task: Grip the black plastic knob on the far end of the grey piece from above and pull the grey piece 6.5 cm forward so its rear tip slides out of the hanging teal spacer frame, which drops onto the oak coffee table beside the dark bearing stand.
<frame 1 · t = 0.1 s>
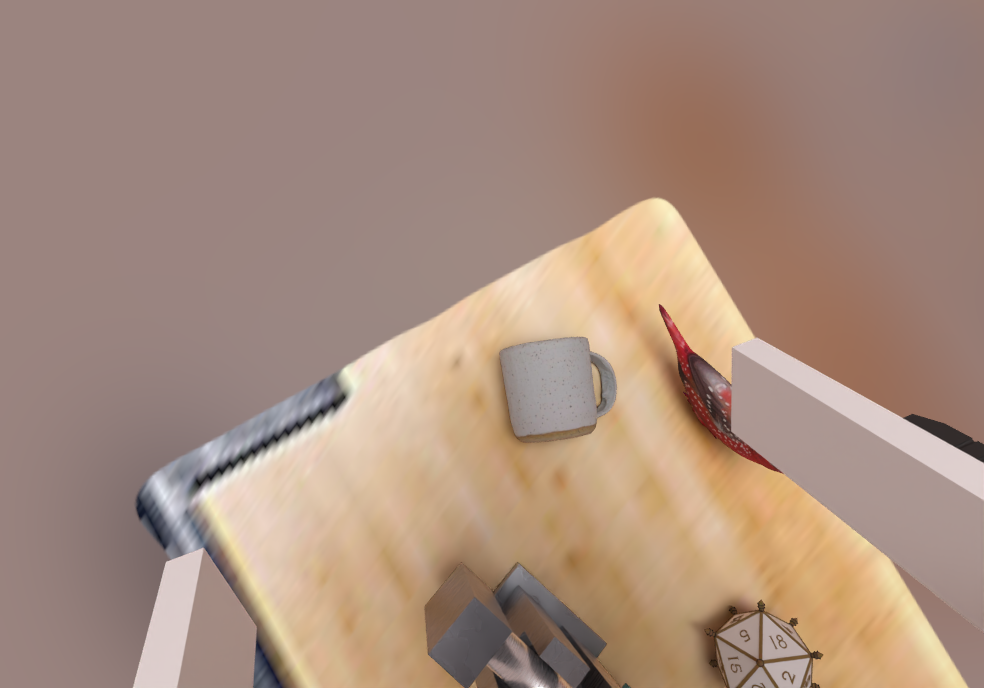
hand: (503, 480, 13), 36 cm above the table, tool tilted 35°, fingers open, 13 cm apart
bearing stand: (526, 645, 46), on the table
ceramic mug: (552, 387, 51), on the table
decorative bird figurine: (683, 396, 52), on the table
game die: (733, 640, 49), on the table
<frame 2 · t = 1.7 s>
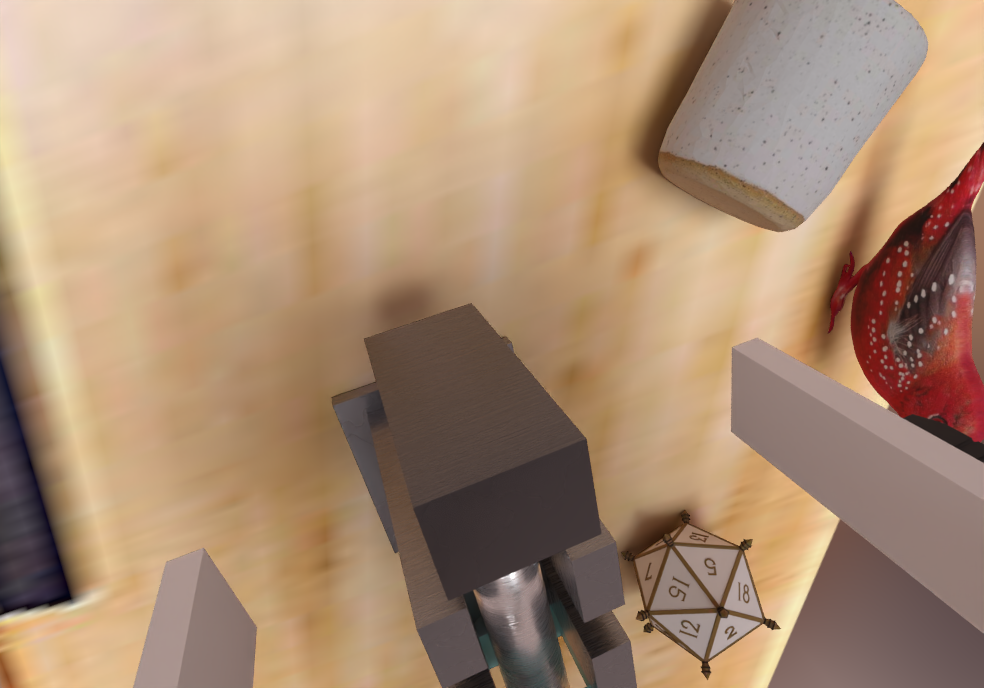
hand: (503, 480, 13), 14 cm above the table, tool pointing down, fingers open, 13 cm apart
bearing stand: (446, 445, 29), on the table
grey piece: (512, 594, 20), point 10 cm above the table, slide at 0.0 cm, touching spacer
ceramic mug: (733, 119, 27), on the table
decorative bird figurine: (841, 256, 33), on the table
spacer: (507, 613, 28), point 6 cm above the table, touching grey piece
game die: (657, 541, 39), on the table
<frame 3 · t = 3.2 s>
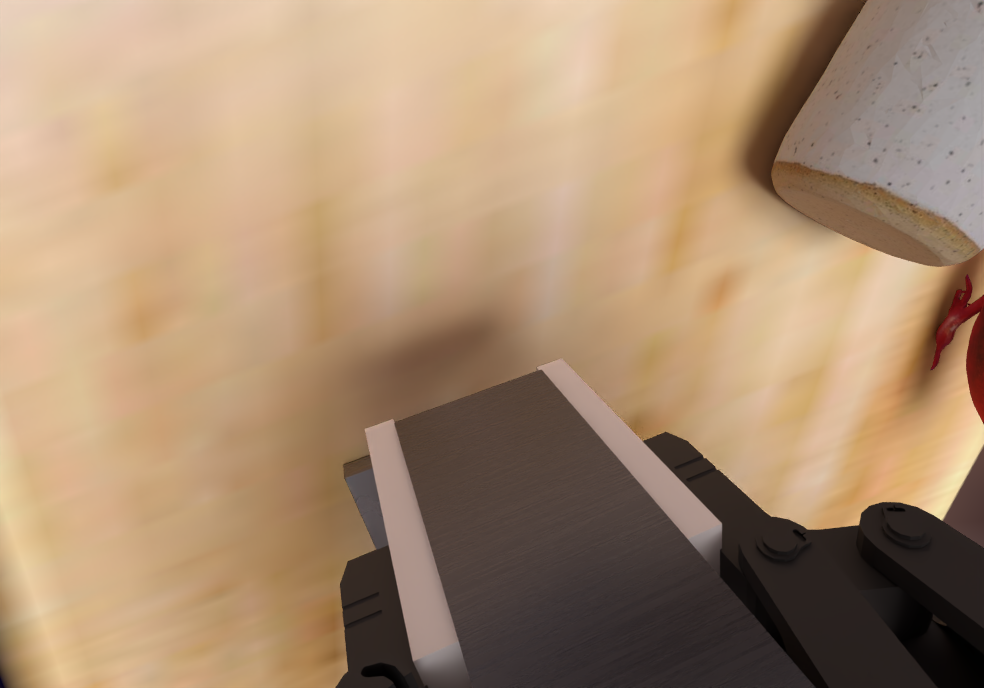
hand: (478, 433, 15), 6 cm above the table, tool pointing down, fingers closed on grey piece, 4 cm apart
bearing stand: (482, 513, 24), on the table
ceramic mug: (856, 119, 22), on the table
decorative bird figurine: (953, 280, 28), on the table
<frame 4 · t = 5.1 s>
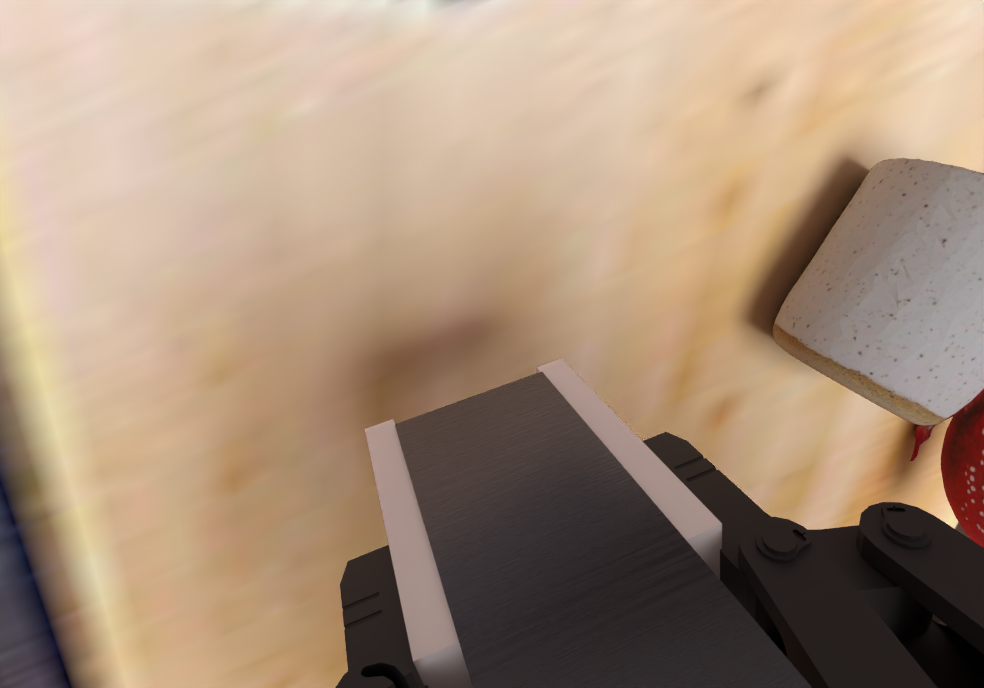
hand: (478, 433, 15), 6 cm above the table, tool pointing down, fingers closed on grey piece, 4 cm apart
ceramic mug: (846, 271, 25), on the table
decorative bird figurine: (930, 384, 31), on the table
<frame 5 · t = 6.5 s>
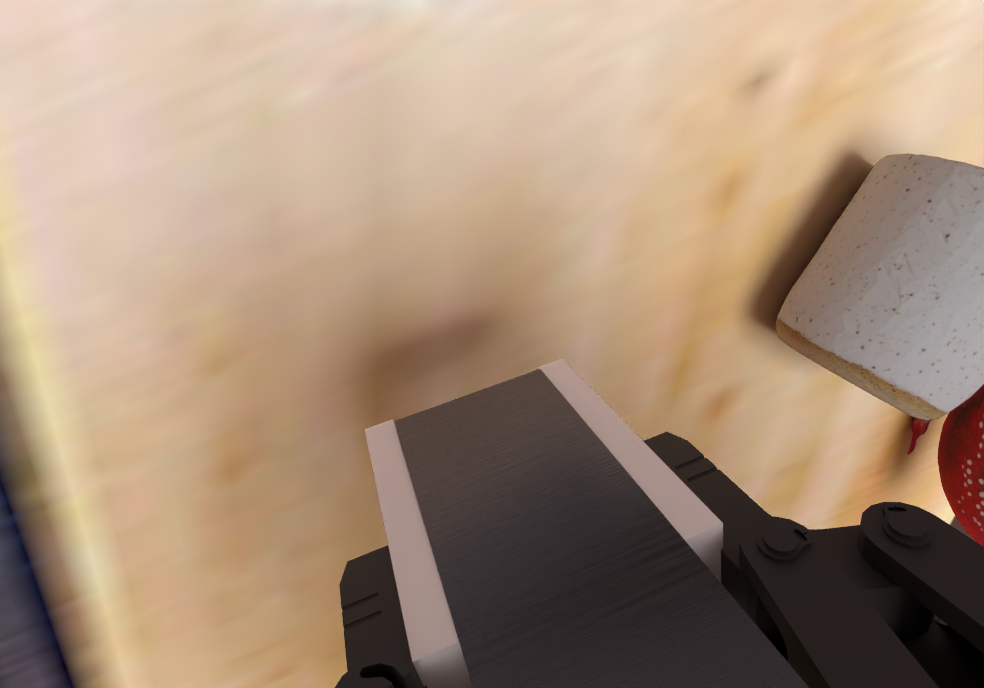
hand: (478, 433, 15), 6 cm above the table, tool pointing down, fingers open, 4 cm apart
ceramic mug: (849, 267, 25), on the table
decorative bird figurine: (927, 378, 31), on the table
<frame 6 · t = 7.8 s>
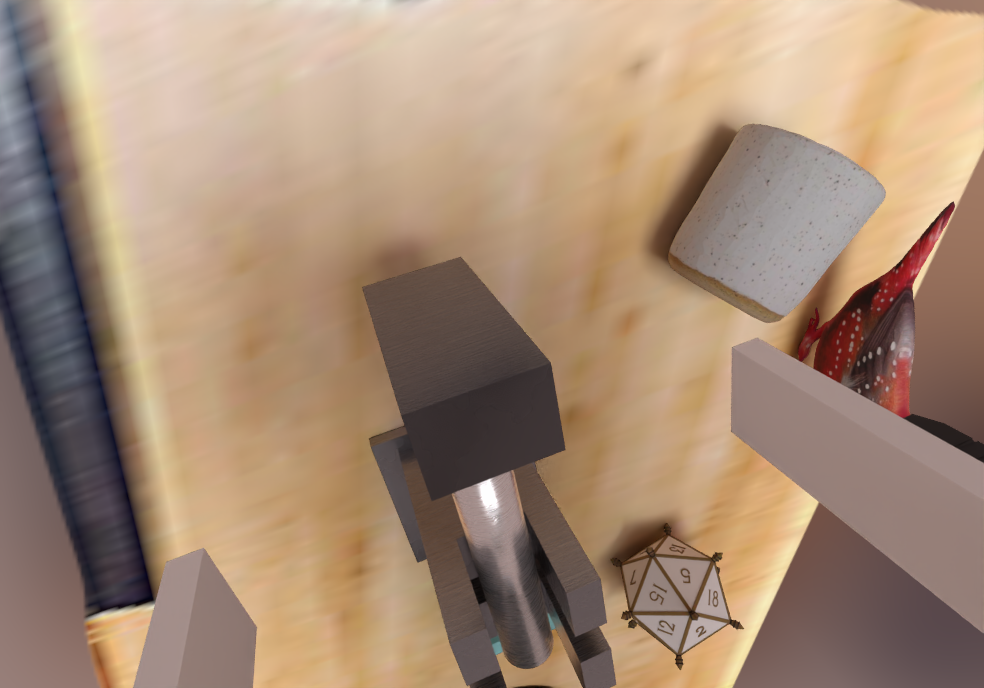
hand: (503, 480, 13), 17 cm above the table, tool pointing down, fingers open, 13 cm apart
bearing stand: (462, 474, 35), on the table
grey piece: (494, 520, 22), point 11 cm above the table, slide at 6.1 cm
ceramic mug: (732, 216, 33), on the table
decorative bird figurine: (808, 311, 38), on the table
game die: (642, 549, 44), on the table
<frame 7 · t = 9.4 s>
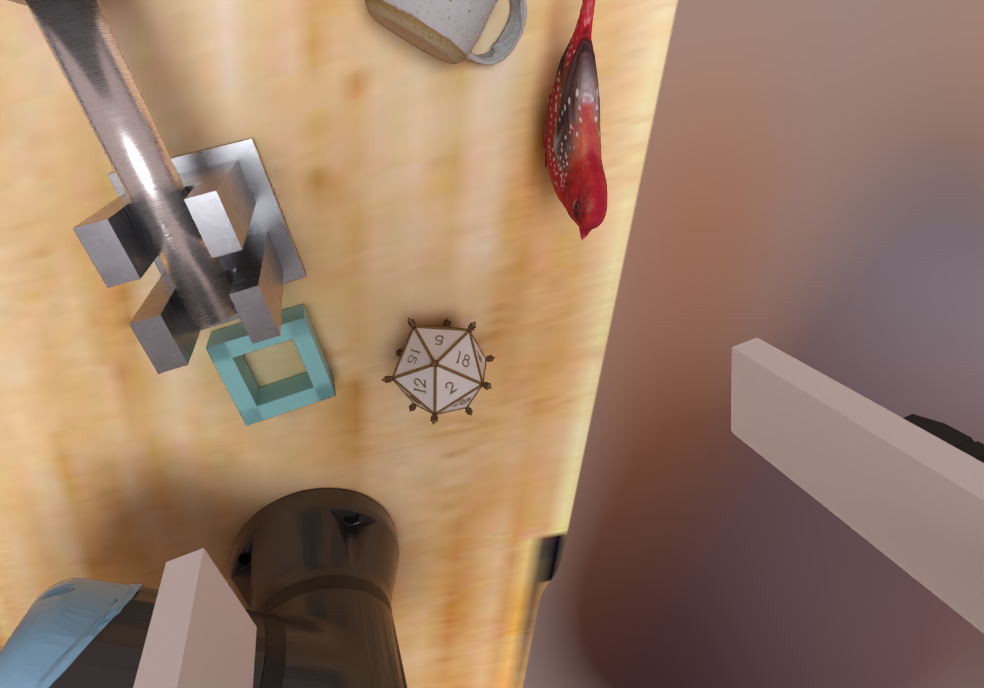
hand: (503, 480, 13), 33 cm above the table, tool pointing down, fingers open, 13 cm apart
bearing stand: (216, 227, 39), on the table
grey piece: (130, 145, 27), point 11 cm above the table, slide at 6.1 cm
decorative bird figurine: (547, 101, 43), on the table
spacer: (256, 324, 41), point 1 cm above the table, tilted 90°
game die: (430, 346, 48), on the table
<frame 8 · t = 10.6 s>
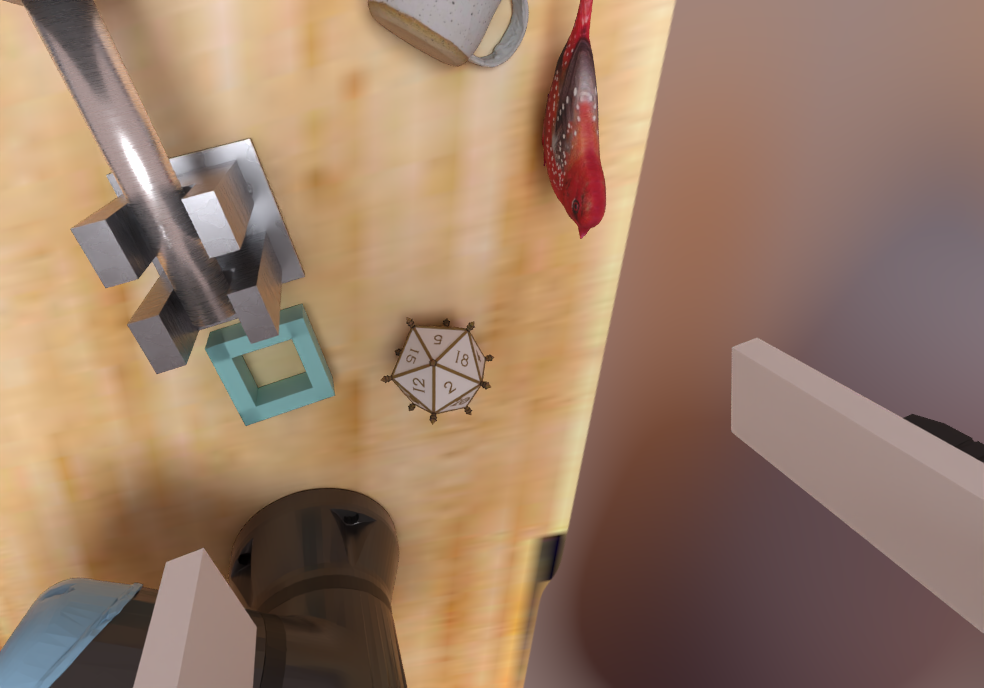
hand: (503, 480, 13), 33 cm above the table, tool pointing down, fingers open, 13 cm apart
bearing stand: (215, 227, 39), on the table
grey piece: (128, 145, 27), point 11 cm above the table, slide at 6.1 cm
decorative bird figurine: (545, 100, 43), on the table
spacer: (255, 325, 41), point 1 cm above the table, tilted 90°
game die: (429, 346, 48), on the table
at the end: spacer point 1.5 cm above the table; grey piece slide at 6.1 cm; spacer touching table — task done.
